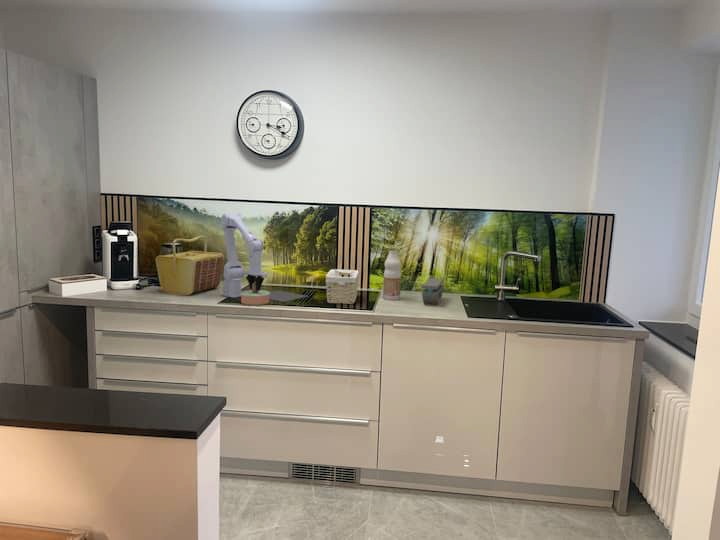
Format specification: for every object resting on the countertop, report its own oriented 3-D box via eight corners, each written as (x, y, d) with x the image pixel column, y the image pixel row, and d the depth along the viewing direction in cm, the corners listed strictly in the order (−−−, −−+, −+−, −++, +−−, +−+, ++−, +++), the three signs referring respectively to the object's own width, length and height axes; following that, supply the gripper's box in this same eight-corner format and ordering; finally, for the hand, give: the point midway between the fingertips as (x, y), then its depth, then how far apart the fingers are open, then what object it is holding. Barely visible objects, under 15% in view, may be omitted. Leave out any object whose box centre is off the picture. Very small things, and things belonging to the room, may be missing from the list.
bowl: (235, 302, 294) (235, 293, 294) (255, 298, 306) (255, 290, 305) (255, 306, 286) (255, 297, 286) (274, 302, 298) (274, 293, 297)
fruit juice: (383, 300, 311) (385, 248, 307) (382, 296, 320) (384, 246, 316) (400, 300, 311) (403, 249, 307) (399, 297, 321) (401, 247, 316)
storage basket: (355, 305, 297) (356, 276, 295) (324, 303, 298) (324, 275, 296) (358, 296, 321) (359, 269, 319) (329, 294, 322) (330, 268, 320)
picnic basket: (194, 297, 304) (193, 240, 300) (154, 292, 313) (153, 237, 309) (225, 288, 331) (225, 236, 327) (188, 284, 340) (187, 233, 336)
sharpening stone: (436, 307, 298) (437, 286, 296) (421, 305, 300) (422, 285, 298) (442, 298, 321) (443, 279, 320) (428, 297, 324) (429, 277, 322)
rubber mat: (252, 296, 310) (252, 295, 310) (278, 291, 326) (278, 290, 326) (283, 302, 297) (283, 301, 297) (308, 297, 313) (308, 295, 313)
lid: (234, 293, 294) (234, 283, 293) (255, 289, 306) (255, 279, 305) (255, 297, 285) (255, 286, 284) (276, 293, 297) (276, 282, 296)
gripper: (239, 263, 294) (239, 289, 296) (260, 266, 286) (259, 293, 288) (249, 261, 300) (249, 287, 302) (269, 264, 291) (269, 291, 294)
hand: (255, 290), depth 295 cm, fingers open, 4 cm apart
